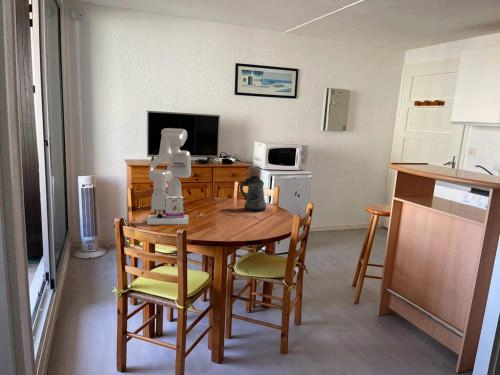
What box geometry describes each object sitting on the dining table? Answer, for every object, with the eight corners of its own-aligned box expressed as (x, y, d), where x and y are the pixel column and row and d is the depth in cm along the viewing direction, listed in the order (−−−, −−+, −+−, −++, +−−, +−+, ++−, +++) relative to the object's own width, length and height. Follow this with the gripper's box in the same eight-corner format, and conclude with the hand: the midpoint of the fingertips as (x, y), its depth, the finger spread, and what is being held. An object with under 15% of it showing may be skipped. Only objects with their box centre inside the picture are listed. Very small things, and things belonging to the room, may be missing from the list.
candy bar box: (183, 221, 231) (183, 196, 228) (183, 223, 226) (183, 197, 223) (165, 221, 228) (165, 196, 226) (165, 223, 223) (165, 197, 221)
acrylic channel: (149, 220, 229) (149, 215, 228) (188, 220, 233) (188, 215, 232) (147, 224, 220) (147, 218, 219) (188, 224, 224) (188, 218, 223)
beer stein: (269, 211, 266) (271, 178, 261) (245, 213, 258) (246, 178, 254) (260, 206, 281) (262, 174, 277) (237, 208, 274) (238, 175, 269)
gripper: (172, 190, 227) (172, 218, 230) (148, 190, 225) (148, 218, 228) (171, 192, 220) (171, 222, 223) (146, 192, 217) (146, 222, 221)
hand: (159, 220), depth 225 cm, fingers closed
